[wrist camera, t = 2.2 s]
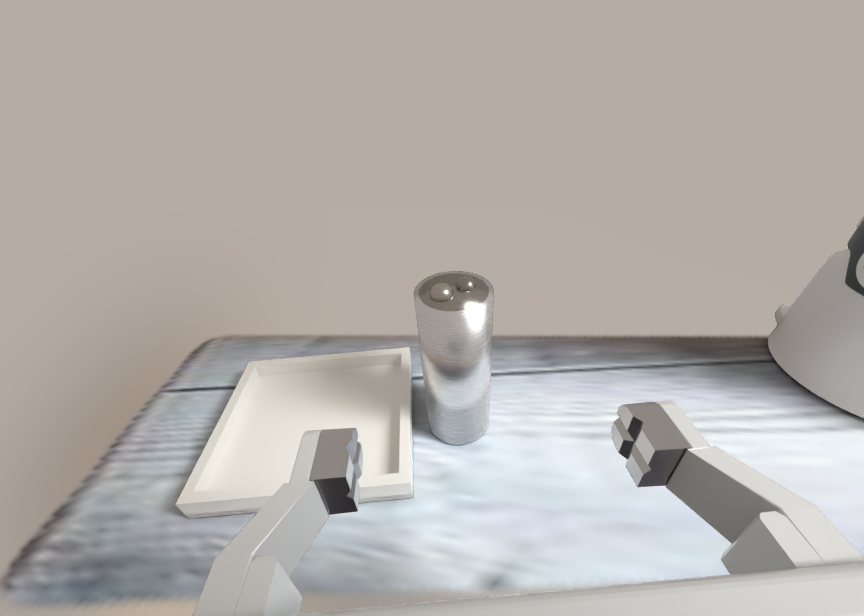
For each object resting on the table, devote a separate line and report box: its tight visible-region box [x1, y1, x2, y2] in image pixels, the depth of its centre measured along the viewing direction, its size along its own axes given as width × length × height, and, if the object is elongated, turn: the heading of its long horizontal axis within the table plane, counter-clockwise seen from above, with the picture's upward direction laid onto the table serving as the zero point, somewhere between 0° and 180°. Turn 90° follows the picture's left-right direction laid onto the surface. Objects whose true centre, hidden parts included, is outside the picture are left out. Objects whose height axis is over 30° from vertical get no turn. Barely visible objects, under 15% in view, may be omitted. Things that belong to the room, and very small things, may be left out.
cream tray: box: [175, 347, 413, 519], centre depth 31 cm, size 16×14×2 cm
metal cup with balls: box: [414, 271, 494, 445], centre depth 27 cm, size 5×5×14 cm
